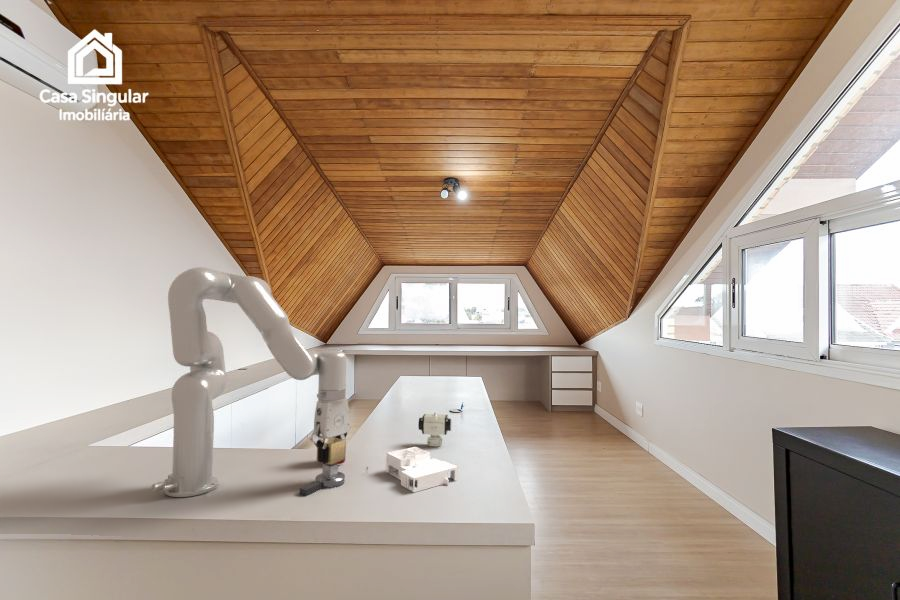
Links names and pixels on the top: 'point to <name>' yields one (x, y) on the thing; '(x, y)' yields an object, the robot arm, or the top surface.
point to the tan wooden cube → (335, 450)
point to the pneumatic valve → (434, 427)
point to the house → (418, 469)
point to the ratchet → (325, 480)
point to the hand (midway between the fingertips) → (330, 458)
